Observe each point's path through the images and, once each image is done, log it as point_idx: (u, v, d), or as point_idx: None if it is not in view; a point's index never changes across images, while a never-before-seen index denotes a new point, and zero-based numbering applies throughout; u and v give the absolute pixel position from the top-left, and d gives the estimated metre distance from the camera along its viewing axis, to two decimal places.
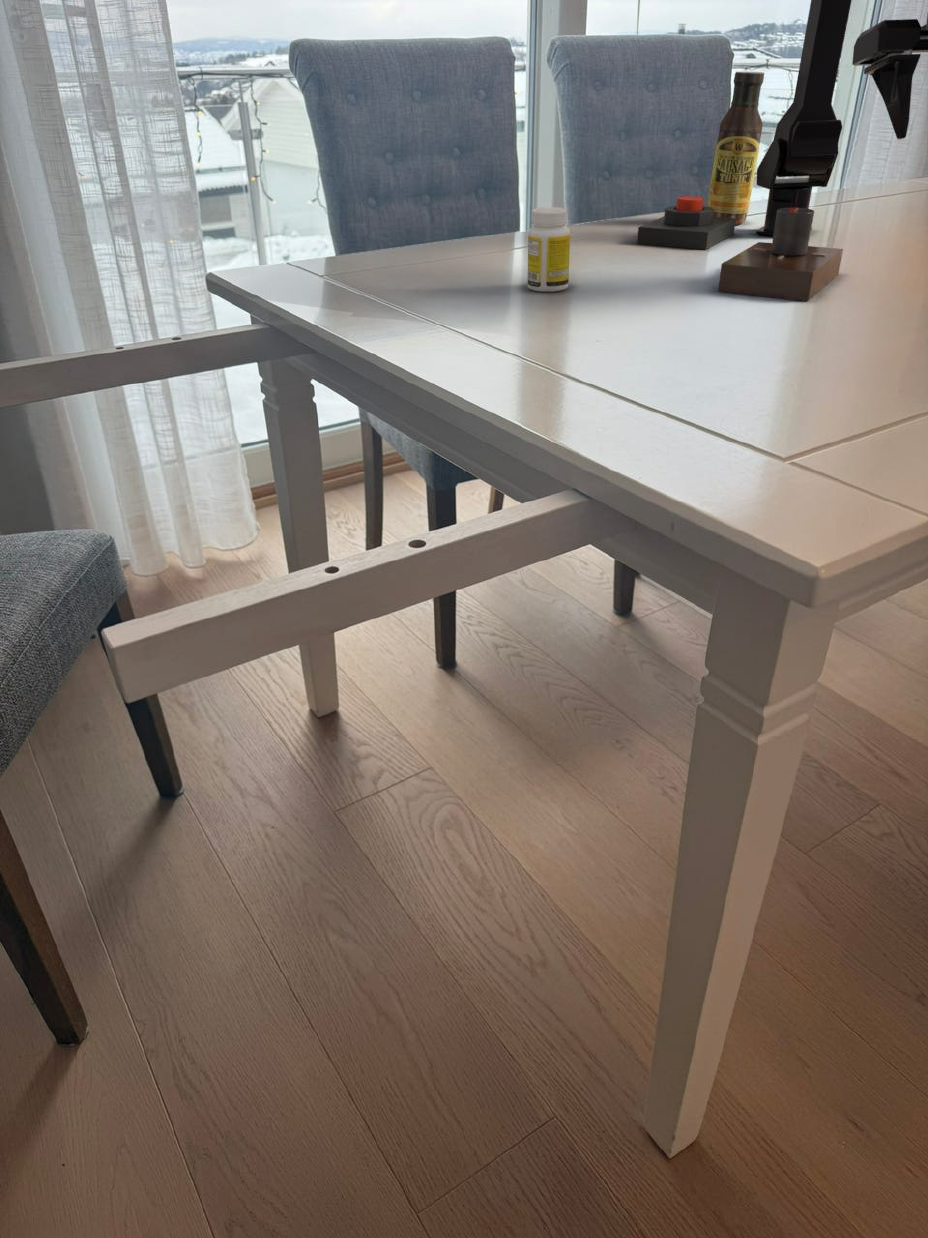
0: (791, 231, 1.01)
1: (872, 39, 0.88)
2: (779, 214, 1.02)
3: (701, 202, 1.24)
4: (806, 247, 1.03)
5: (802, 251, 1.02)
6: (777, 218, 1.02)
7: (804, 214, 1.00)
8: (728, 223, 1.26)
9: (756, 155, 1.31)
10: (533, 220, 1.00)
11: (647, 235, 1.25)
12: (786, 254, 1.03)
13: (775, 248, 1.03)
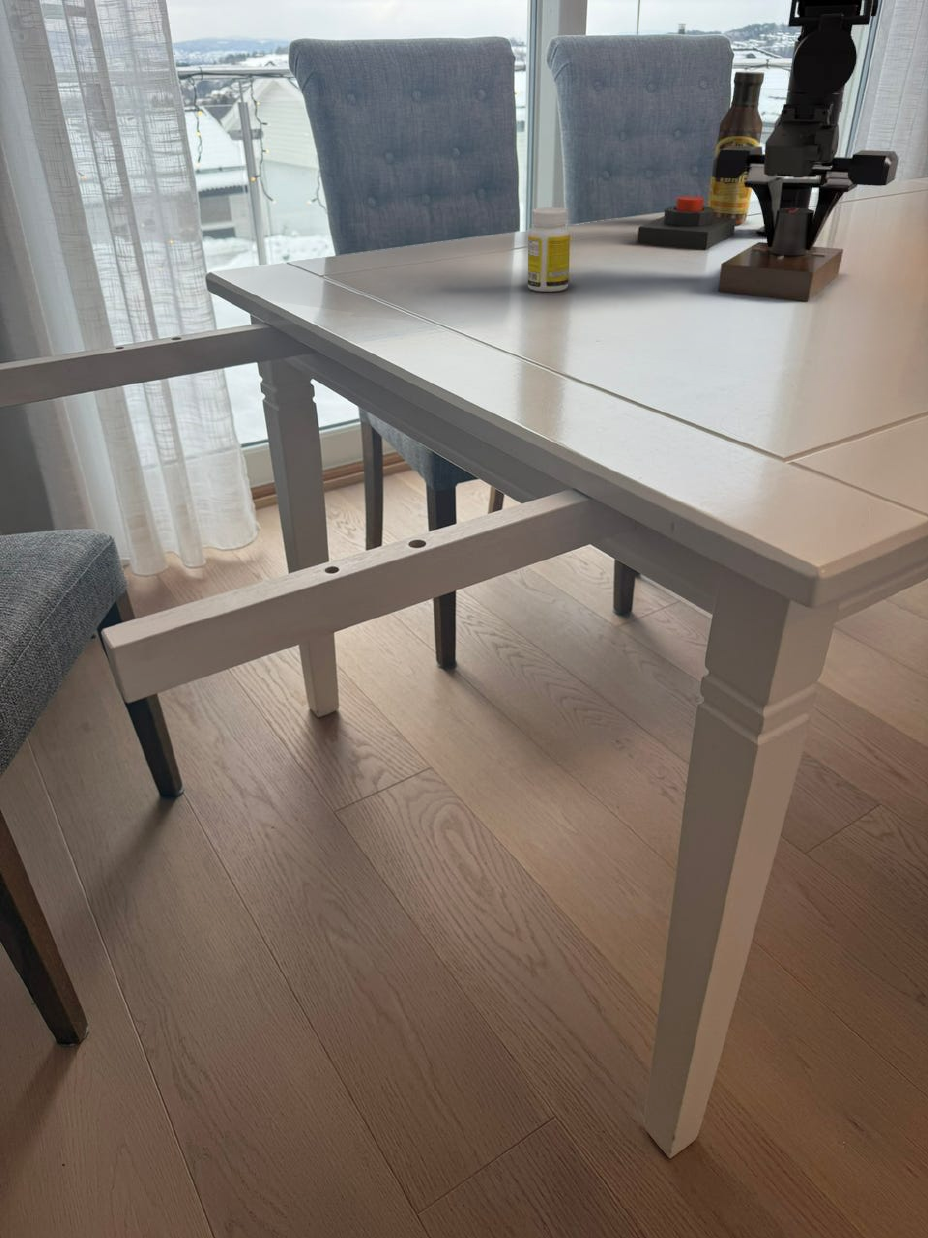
0: (791, 231, 1.01)
1: None
2: (779, 214, 1.02)
3: (701, 202, 1.24)
4: None
5: (802, 251, 1.02)
6: (777, 218, 1.02)
7: (804, 214, 1.00)
8: (728, 223, 1.26)
9: None
10: (533, 220, 1.00)
11: (647, 235, 1.25)
12: (786, 254, 1.03)
13: (775, 248, 1.03)
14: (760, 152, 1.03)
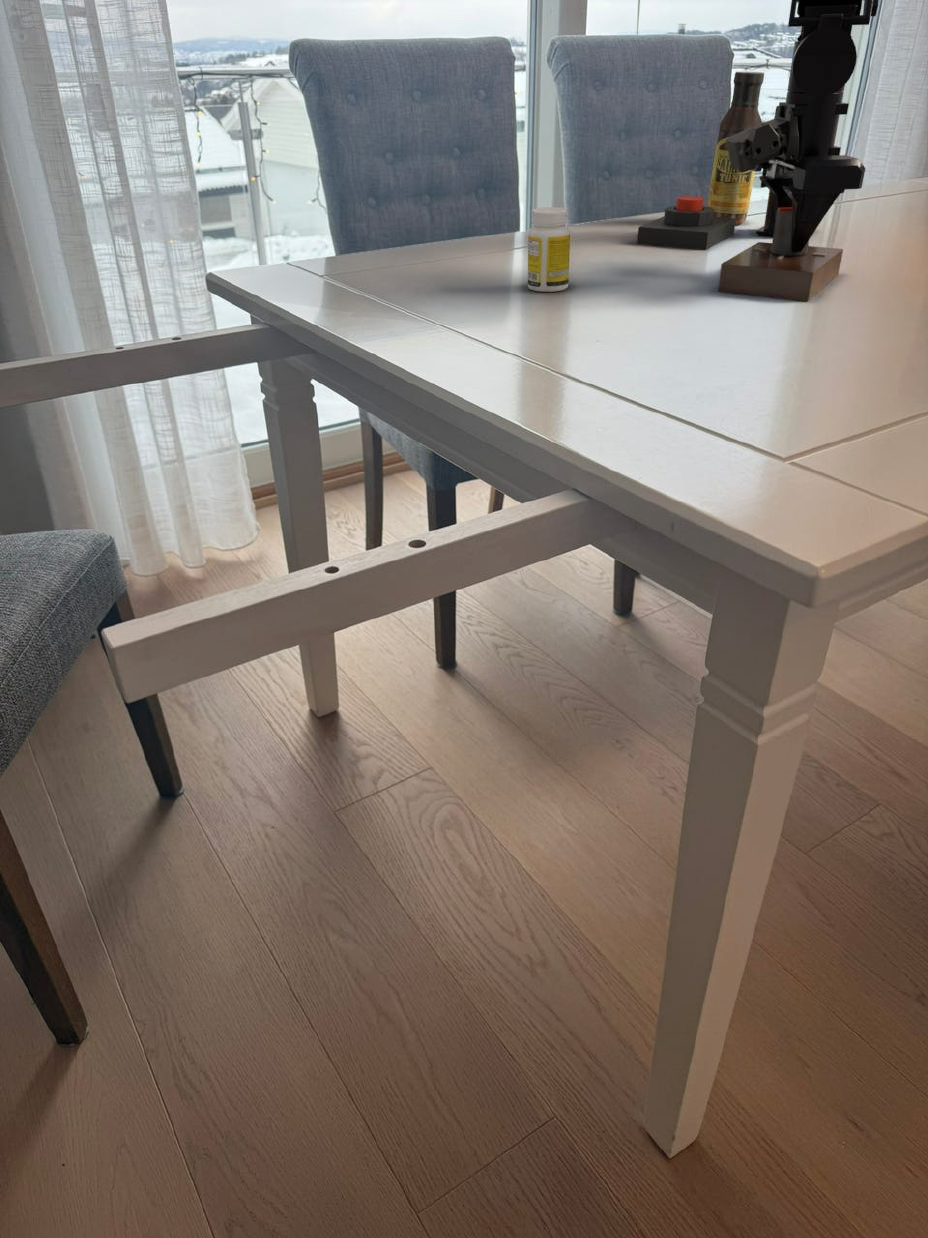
0: (777, 229, 1.02)
1: None
2: None
3: (701, 202, 1.24)
4: None
5: (786, 251, 1.02)
6: None
7: (787, 214, 1.01)
8: (728, 223, 1.26)
9: None
10: (533, 220, 1.00)
11: (647, 235, 1.25)
12: (772, 252, 1.04)
13: None
14: None
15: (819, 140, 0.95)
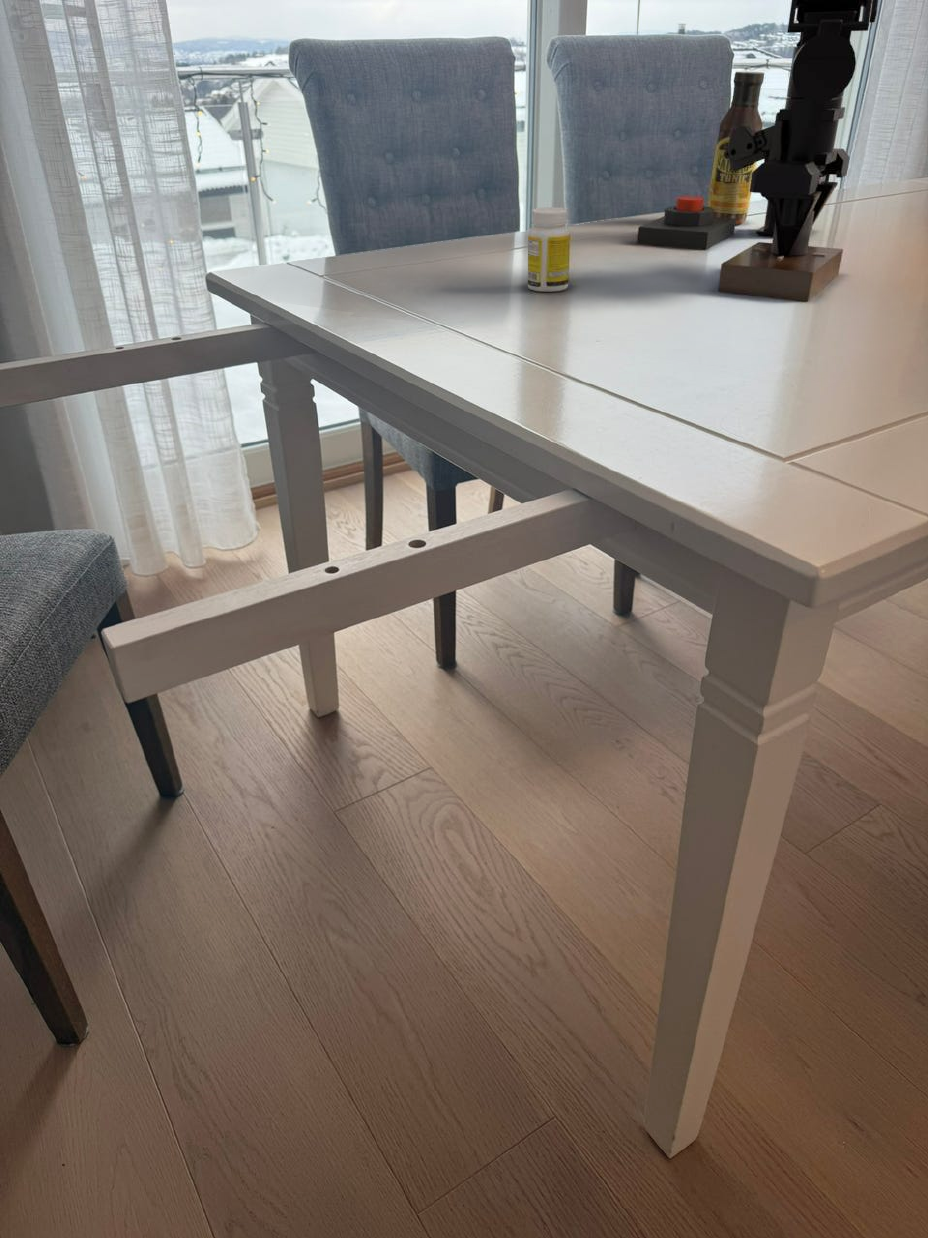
0: None
1: None
2: None
3: (701, 202, 1.24)
4: None
5: (776, 250, 1.03)
6: None
7: None
8: (728, 223, 1.26)
9: None
10: (533, 220, 1.00)
11: (647, 235, 1.25)
12: None
13: None
14: None
15: (802, 146, 0.96)
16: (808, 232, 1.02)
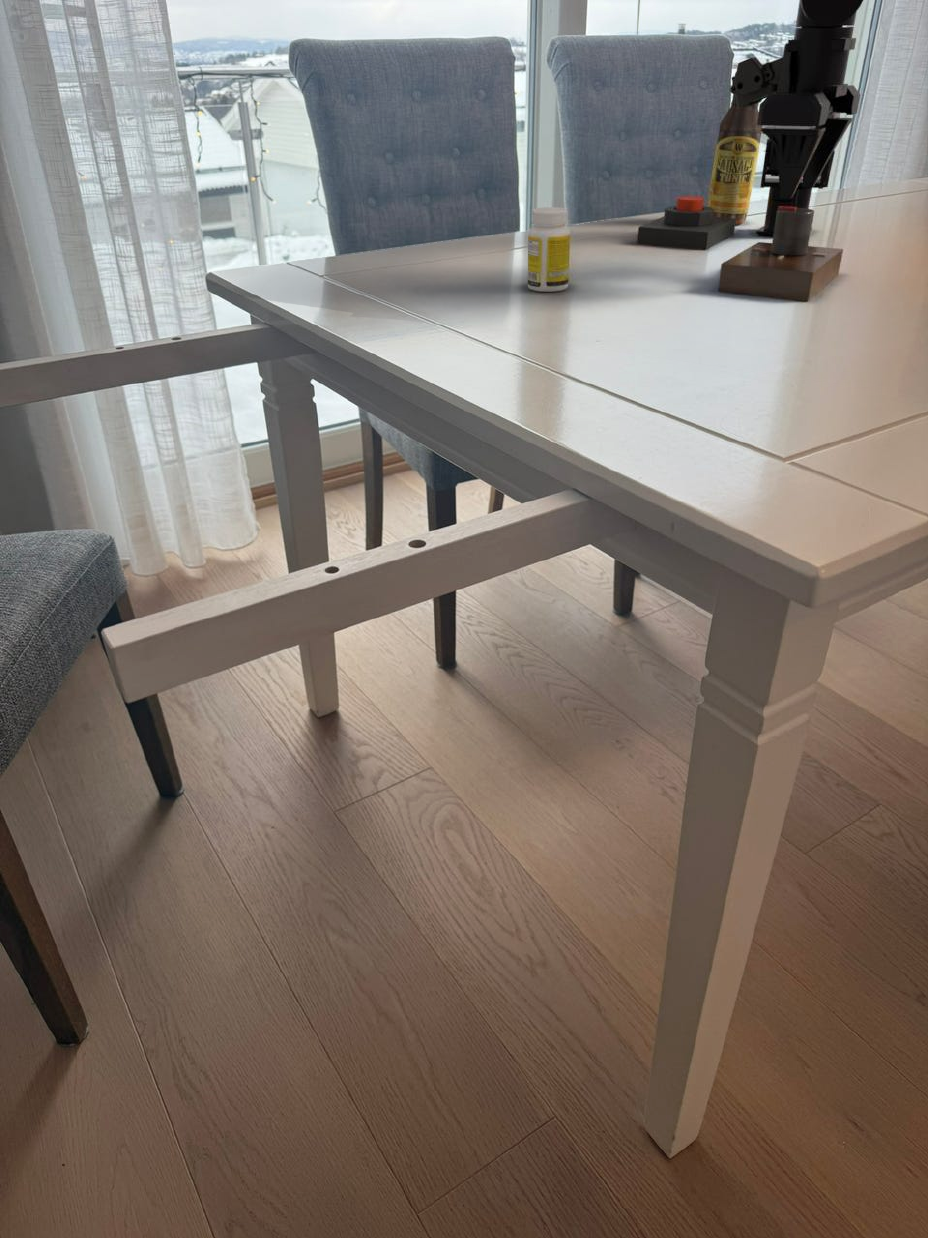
0: None
1: None
2: None
3: (701, 202, 1.24)
4: (781, 248, 1.03)
5: (776, 250, 1.03)
6: None
7: (779, 212, 1.02)
8: (728, 223, 1.26)
9: (756, 155, 1.31)
10: (533, 220, 1.00)
11: (647, 235, 1.25)
12: None
13: None
14: None
15: (811, 78, 0.93)
16: (808, 232, 1.02)
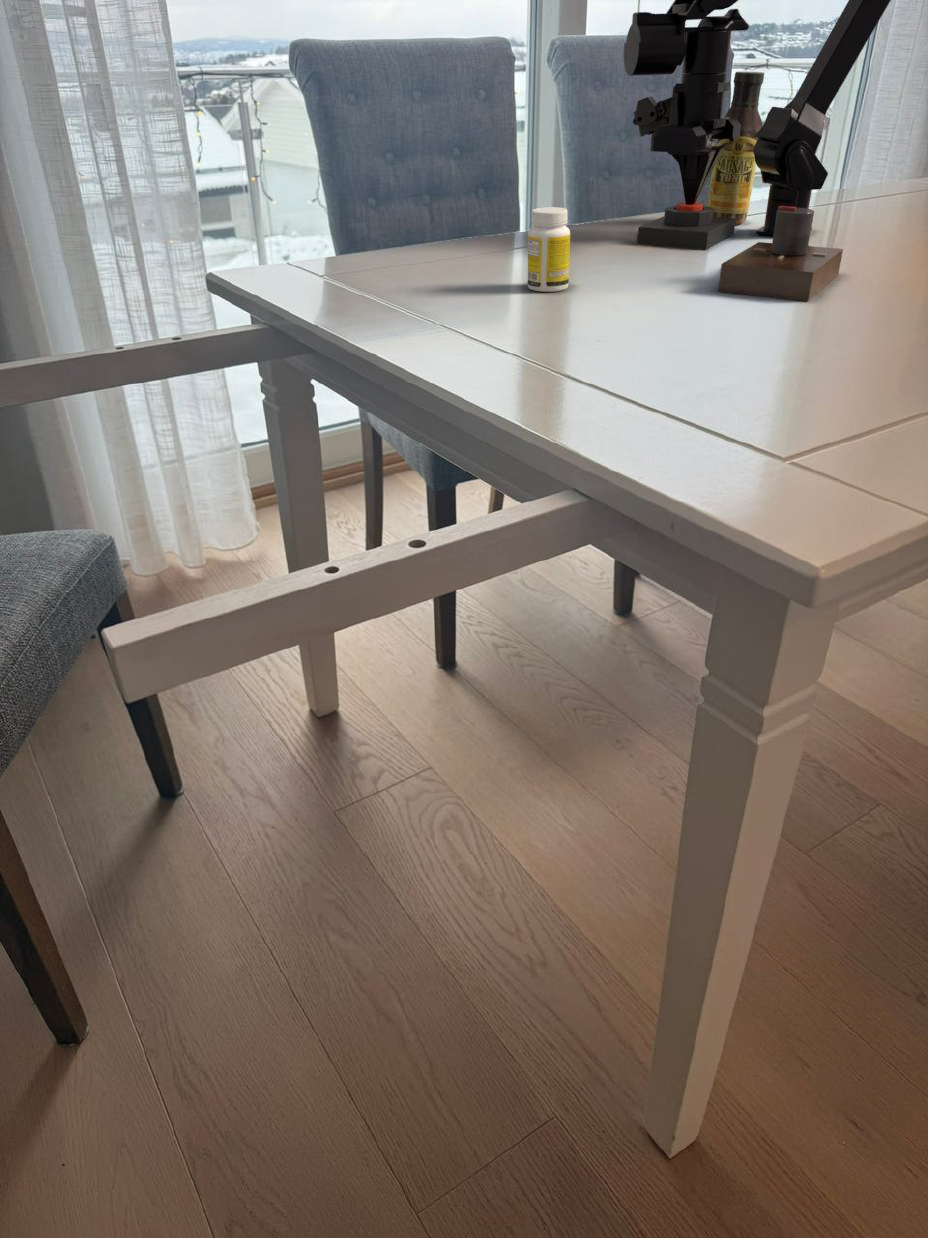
0: None
1: None
2: None
3: (700, 208, 1.25)
4: (781, 248, 1.03)
5: (776, 250, 1.03)
6: None
7: (779, 212, 1.02)
8: (728, 223, 1.26)
9: None
10: (533, 220, 1.00)
11: (647, 235, 1.25)
12: None
13: None
14: (725, 123, 1.23)
15: (693, 113, 1.17)
16: (808, 232, 1.02)
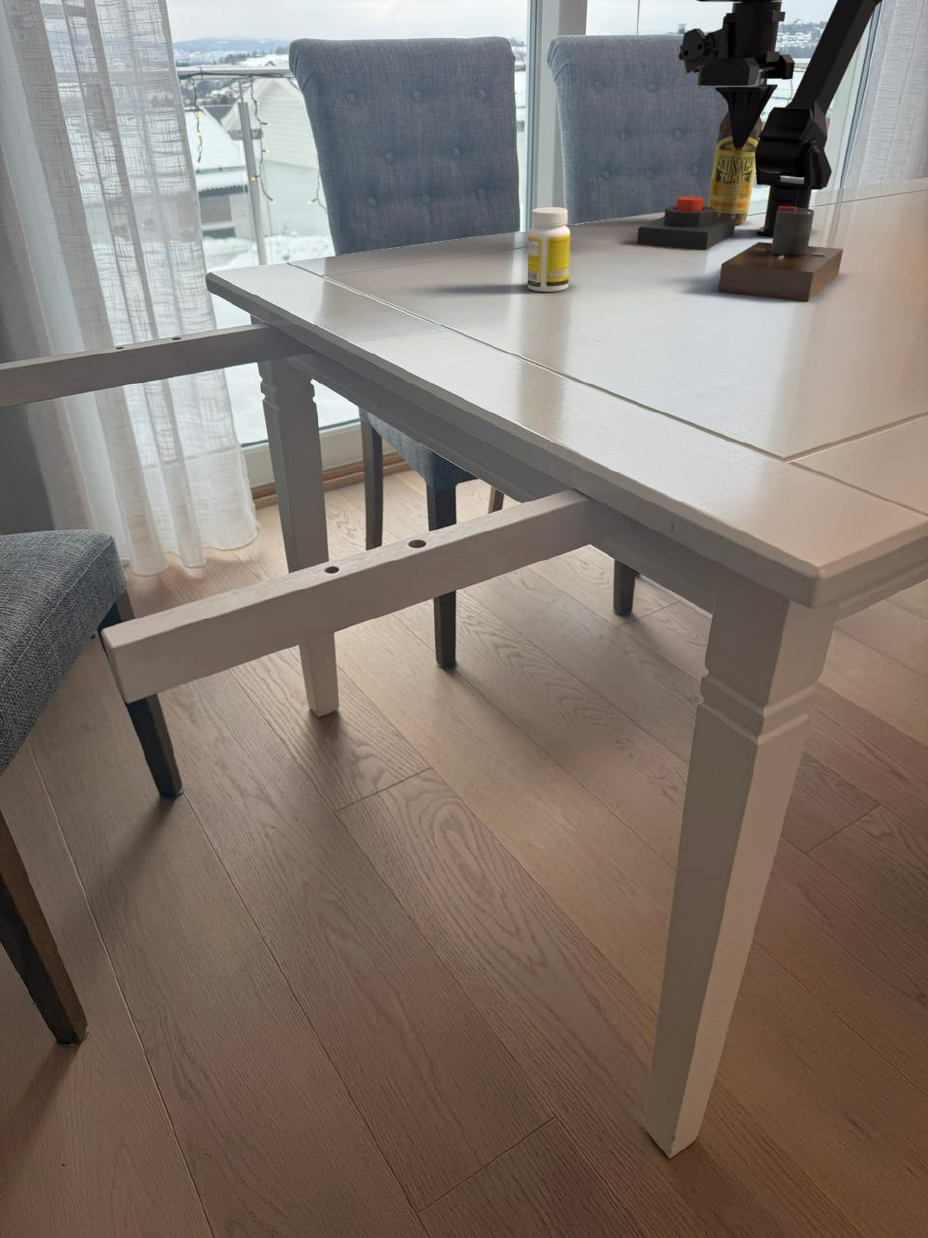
0: None
1: None
2: None
3: (701, 202, 1.24)
4: (781, 248, 1.03)
5: (776, 250, 1.03)
6: None
7: (779, 212, 1.02)
8: (728, 223, 1.26)
9: None
10: (533, 220, 1.00)
11: (647, 235, 1.25)
12: None
13: None
14: (778, 60, 1.14)
15: (745, 45, 1.08)
16: (808, 232, 1.02)
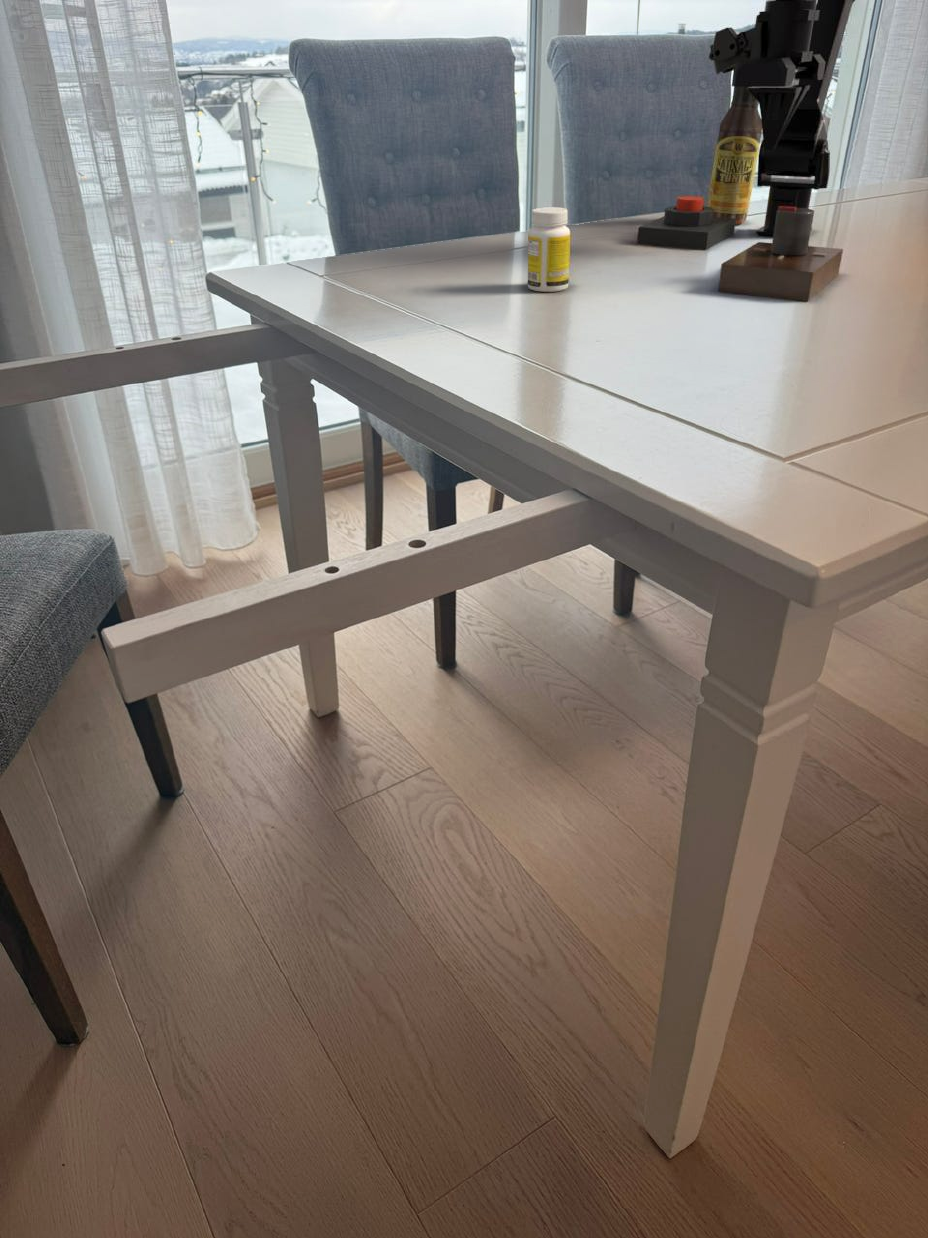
0: None
1: None
2: None
3: (701, 202, 1.24)
4: (781, 248, 1.03)
5: (776, 250, 1.03)
6: None
7: (779, 212, 1.02)
8: (728, 223, 1.26)
9: (756, 155, 1.31)
10: (533, 220, 1.00)
11: (647, 235, 1.25)
12: None
13: None
14: None
15: (779, 45, 1.05)
16: (808, 232, 1.02)
